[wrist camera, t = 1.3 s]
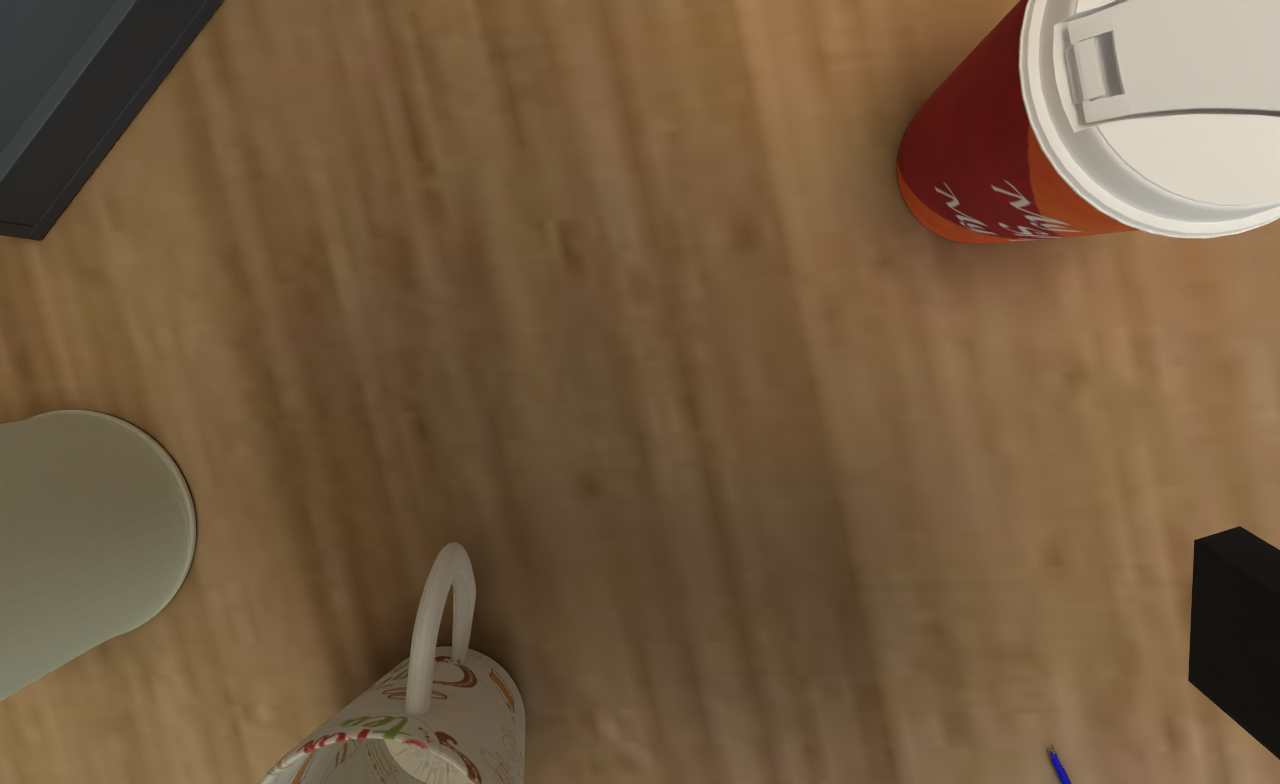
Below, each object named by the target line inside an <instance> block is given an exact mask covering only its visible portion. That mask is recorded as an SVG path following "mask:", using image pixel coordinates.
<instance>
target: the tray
mask: <svg viewBox="0 0 1280 784" xmlns="http://www.w3.org/2000/svg"><path fill="white" fill-rule="evenodd" d="M222 1H223V0H0V235H4V236H11V237H18V238H27V239H33V240H41V239H42V238H43V237H44V235H45V234H46V233H47V231H48V230H49V229H50V227H51V226H52V225H53V224H54V222H55V221H56V220H57V218H58V217H59V216H60V214H61V213H62V212H63V210H64V209H65V208H66V206H67V205H68V204H69V202H70V201H71V200H72V199H73V197H74V196H75V195H76V193H77V192H78V191H79V189H80V188H81V187H82V185H83V184H84V183H85V181H86V180H87V179H88V177H89V176H90V175H91V174H92V172H93V171H94V170H95V168H96V167H97V166H98V164H99V163H100V162H101V160H102V159H103V158H104V156H105V155H106V154H107V152H108V151H109V150H110V149H111V147H112V146H113V145H114V143H115V142H116V141H117V139H118V138H119V137H120V135H121V134H122V133H123V131H124V130H125V129H126V127H127V126H128V125H129V124H130V122H131V121H132V120H133V118H134V117H135V116H136V114H137V113H138V112H139V110H140V109H141V108H142V106H143V105H144V104H145V102H146V101H147V100H148V99H149V97H150V96H151V95H152V93H153V92H154V91H155V89H156V88H157V87H158V85H159V84H160V83H161V81H162V80H163V79H164V77H165V76H166V75H167V74H168V72H169V71H170V70H171V68H172V67H173V66H174V64H175V63H176V62H177V60H178V59H179V58H180V56H181V55H182V54H183V52H184V51H185V50H186V49H187V47H188V46H189V45H190V43H191V42H192V41H193V39H194V38H195V37H196V35H197V34H198V33H199V31H200V30H201V29H202V27H203V26H204V25H205V24H206V22H207V21H208V20H209V18H210V17H211V16H212V14H213V13H214V12H215V10H216V9H217V8H218V6H219V5H220V4H221V2H222Z"/></svg>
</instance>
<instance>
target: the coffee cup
mask: <svg viewBox="0 0 1280 784" xmlns="http://www.w3.org/2000/svg"><path fill="white" fill-rule="evenodd" d="M897 174H898V182H899V186H900V190H901V193H902V196H903V198H904V200H905V202H906V204H907V206H908V208H909V209H910V211H911V212H912V213H913V215H914V216H915V217H916V218H917V219H918V221H920V222H921V223H922V224H923V225H924V226H925V227H926V228H928V229H929V230H931V231H932V232H934V233H935V234H937V235H939V236H941V237H944V238H946V239H949V240H953V241H956V242H961V243H970V244H990V243H1007V242H1019V241H1031V240H1042V239H1053V238H1064V237H1074V236H1084V235H1095V234H1105V233H1115V232H1125V231H1136V230H1142V231H1145V232H1148V233H1151V234H1157V235H1163V236H1169V237H1175V238H1212V237H1219V236H1225V235H1232V234H1238V233H1241V232H1244V231H1248V230H1251V229H1254V228H1257V227H1260V226H1263V225H1266V224H1268V223H1270V222H1272V221H1274V220H1276V219H1278V218H1280V0H1020V1H1019V2H1018V4H1017V5H1016V6H1015V7H1014V8H1013V9H1012V10H1011V11H1010V12H1009V13H1008V14H1007V15H1006V16H1005V17H1004V18H1003V19H1002V20H1001V21H1000V23H999V24H998V25H997V26H996V27H995V28H994V29H993V30H992V31H991V32H990V33H989V34H988V35H987V36H986V37H985V38H984V39H983V40H982V42H981V43H980V44H979V45H978V46H977V47H976V48H975V49H974V50H973V51H972V52H971V53H970V54H969V55H968V56H967V58H966V59H965V60H964V61H963V62H962V63H961V64H960V65H959V66H958V67H957V68H956V69H955V70H954V71H953V72H952V74H951V75H950V76H949V77H948V78H947V79H946V80H945V81H944V82H943V83H942V84H941V86H940V87H939V88H938V89H937V90H936V91H935V92H934V93H933V94H932V95H931V97H930V98H929V99H928V100H927V101H926V102H925V104H924V105H923V106H922V107H921V108H920V110H919V111H918V112H917V113H916V115H915V116H914V118H913V119H912V121H911V122H910V124H909V125H908V127H907V129H906V131H905V133H904V136H903V138H902V141H901V144H900V148H899V152H898V160H897Z"/></svg>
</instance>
